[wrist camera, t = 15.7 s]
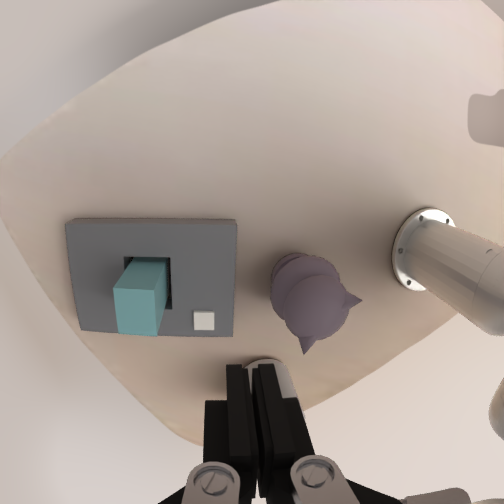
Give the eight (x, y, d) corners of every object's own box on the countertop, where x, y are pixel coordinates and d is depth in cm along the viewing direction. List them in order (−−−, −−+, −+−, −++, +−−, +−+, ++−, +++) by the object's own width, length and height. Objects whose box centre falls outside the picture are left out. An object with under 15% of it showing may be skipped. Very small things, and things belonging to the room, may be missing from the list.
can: (297, 369, 44) (320, 426, 33) (264, 398, 45) (278, 456, 34) (262, 346, 42) (278, 406, 31) (227, 378, 43) (234, 440, 32)
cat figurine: (299, 231, 38) (335, 264, 26) (337, 271, 40) (380, 313, 29) (250, 280, 39) (266, 331, 27) (292, 315, 41) (318, 370, 30)
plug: (168, 255, 36) (154, 290, 27) (168, 293, 38) (157, 336, 28) (136, 254, 36) (113, 287, 26) (138, 292, 37) (118, 333, 28)
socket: (235, 219, 36) (237, 226, 33) (231, 324, 40) (233, 339, 37) (75, 218, 33) (63, 224, 30) (88, 319, 38) (79, 332, 34)
